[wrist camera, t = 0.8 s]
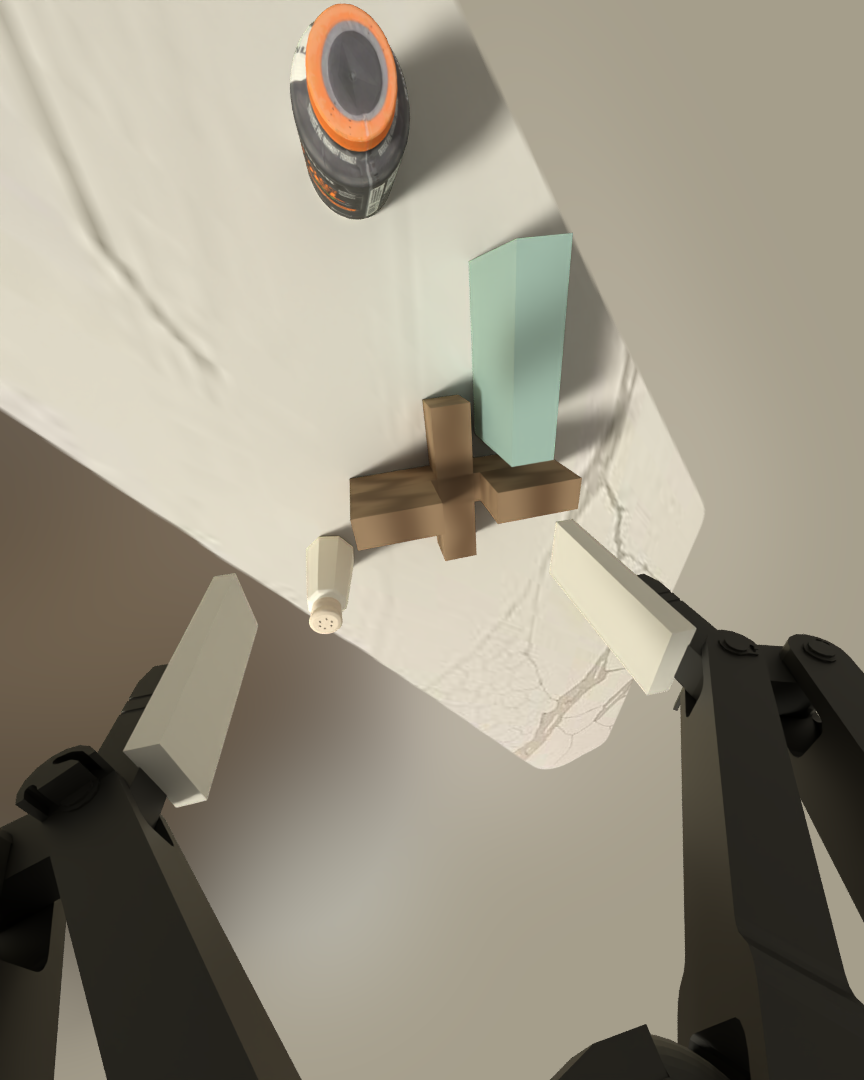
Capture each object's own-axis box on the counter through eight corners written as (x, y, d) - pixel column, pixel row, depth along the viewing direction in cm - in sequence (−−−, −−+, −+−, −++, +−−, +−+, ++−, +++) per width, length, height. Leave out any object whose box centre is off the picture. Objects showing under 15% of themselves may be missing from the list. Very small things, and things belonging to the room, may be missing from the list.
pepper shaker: (319, 581, 42) (312, 654, 33) (295, 545, 39) (279, 614, 30) (363, 564, 42) (367, 632, 33) (342, 526, 39) (340, 590, 30)
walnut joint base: (367, 555, 42) (372, 607, 34) (334, 412, 33) (330, 439, 26) (531, 523, 44) (570, 566, 36) (539, 382, 35) (592, 399, 28)
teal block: (468, 261, 29) (516, 238, 21) (509, 257, 30) (572, 233, 21) (474, 433, 37) (512, 467, 28) (507, 428, 37) (553, 459, 29)
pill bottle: (286, 152, 24) (246, 45, 15) (348, 74, 23) (349, -98, 14) (352, 242, 27) (354, 201, 18) (410, 177, 26) (446, 95, 17)
